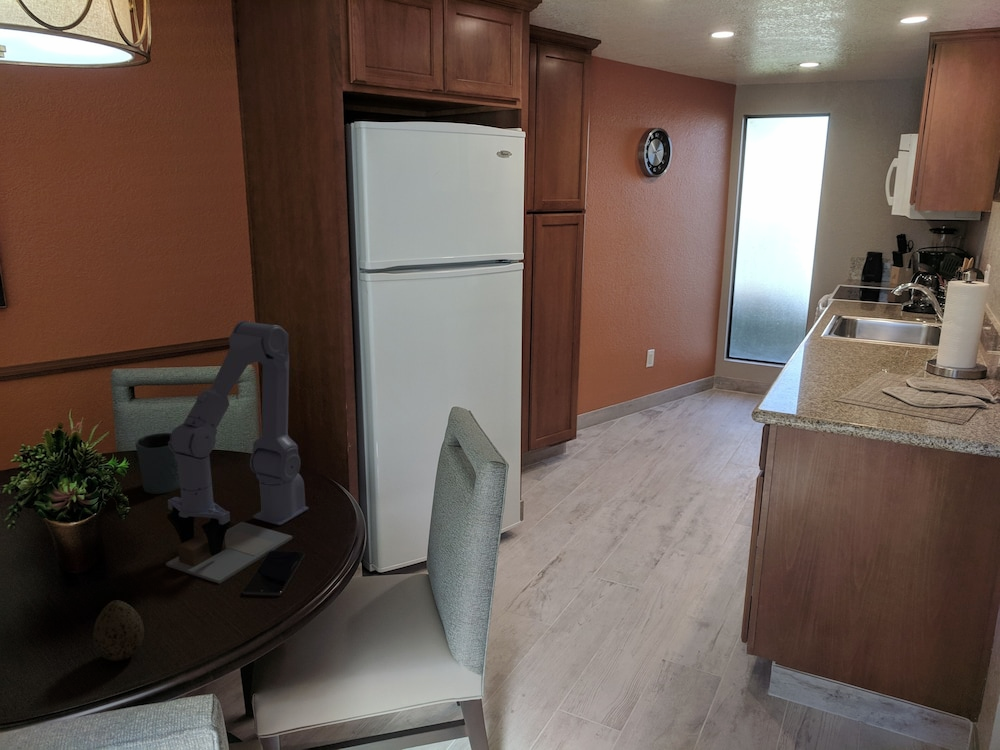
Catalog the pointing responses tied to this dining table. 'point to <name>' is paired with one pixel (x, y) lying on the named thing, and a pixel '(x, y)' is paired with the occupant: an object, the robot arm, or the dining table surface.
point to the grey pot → (157, 464)
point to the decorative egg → (118, 631)
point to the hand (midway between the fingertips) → (202, 548)
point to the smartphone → (273, 573)
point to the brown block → (196, 550)
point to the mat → (235, 552)
